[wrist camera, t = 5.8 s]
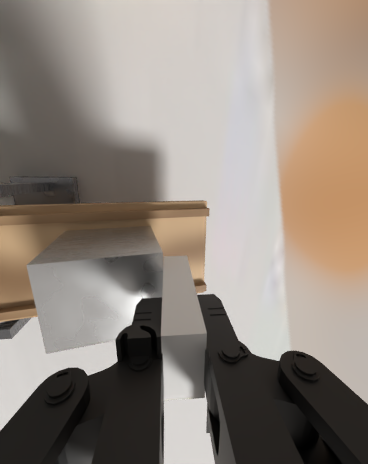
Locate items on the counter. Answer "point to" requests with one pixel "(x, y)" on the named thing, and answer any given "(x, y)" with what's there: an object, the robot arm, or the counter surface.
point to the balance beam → (91, 217)
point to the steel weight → (94, 284)
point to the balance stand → (36, 194)
